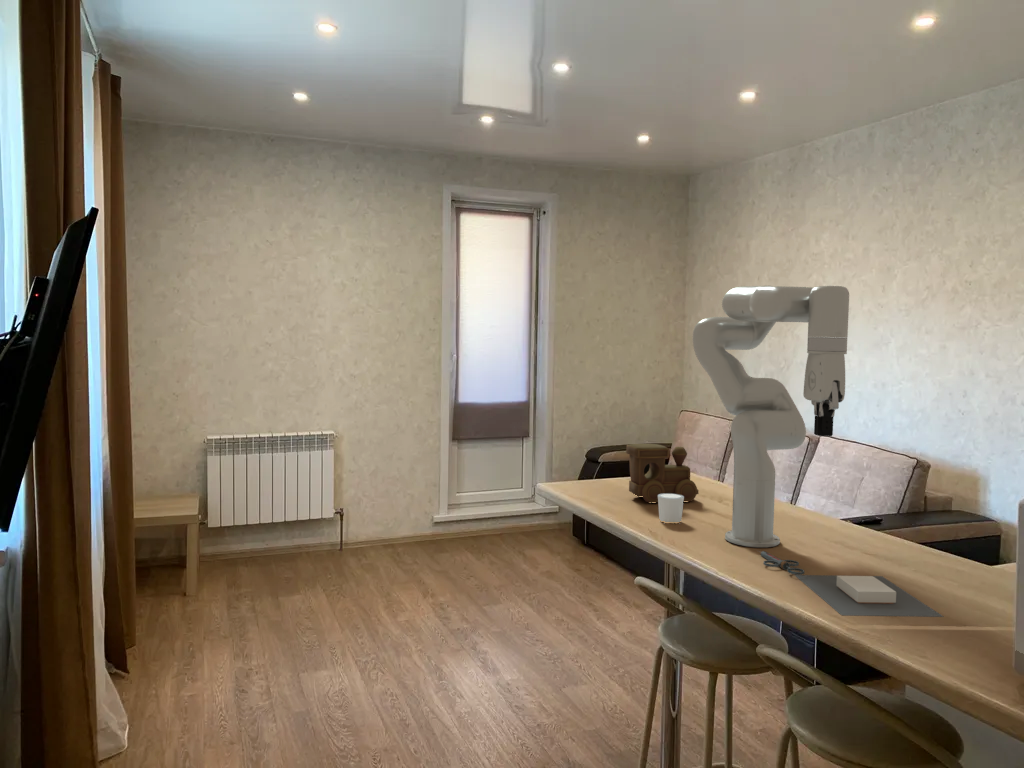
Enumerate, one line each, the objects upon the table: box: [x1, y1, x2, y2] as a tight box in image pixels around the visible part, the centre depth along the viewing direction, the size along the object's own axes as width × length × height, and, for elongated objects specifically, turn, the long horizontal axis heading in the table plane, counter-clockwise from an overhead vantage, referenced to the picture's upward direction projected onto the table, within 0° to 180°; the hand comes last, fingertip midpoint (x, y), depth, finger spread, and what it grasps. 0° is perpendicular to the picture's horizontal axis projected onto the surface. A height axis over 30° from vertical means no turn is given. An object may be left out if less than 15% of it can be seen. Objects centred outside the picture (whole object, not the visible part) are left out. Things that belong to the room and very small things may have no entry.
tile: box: [836, 575, 896, 604], centre depth 141 cm, size 2×7×9 cm
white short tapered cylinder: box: [657, 493, 684, 522], centre depth 198 cm, size 7×7×7 cm
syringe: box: [757, 550, 805, 575], centre depth 160 cm, size 8×18×2 cm, turn 9°
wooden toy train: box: [625, 443, 699, 503], centre depth 223 cm, size 20×11×17 cm, turn 102°
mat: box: [794, 574, 944, 618], centre depth 142 cm, size 22×18×1 cm
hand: (823, 435), depth 154 cm, fingers closed
